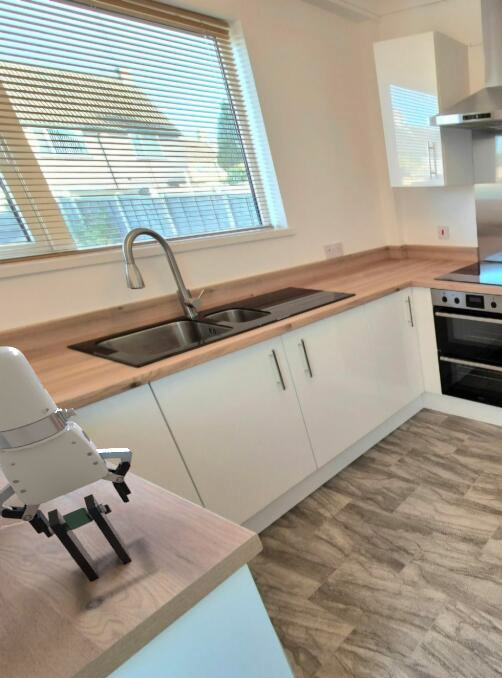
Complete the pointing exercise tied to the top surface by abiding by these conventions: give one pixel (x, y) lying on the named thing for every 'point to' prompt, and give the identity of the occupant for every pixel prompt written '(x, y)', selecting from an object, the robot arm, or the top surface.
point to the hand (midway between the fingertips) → (89, 515)
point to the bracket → (75, 546)
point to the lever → (81, 517)
